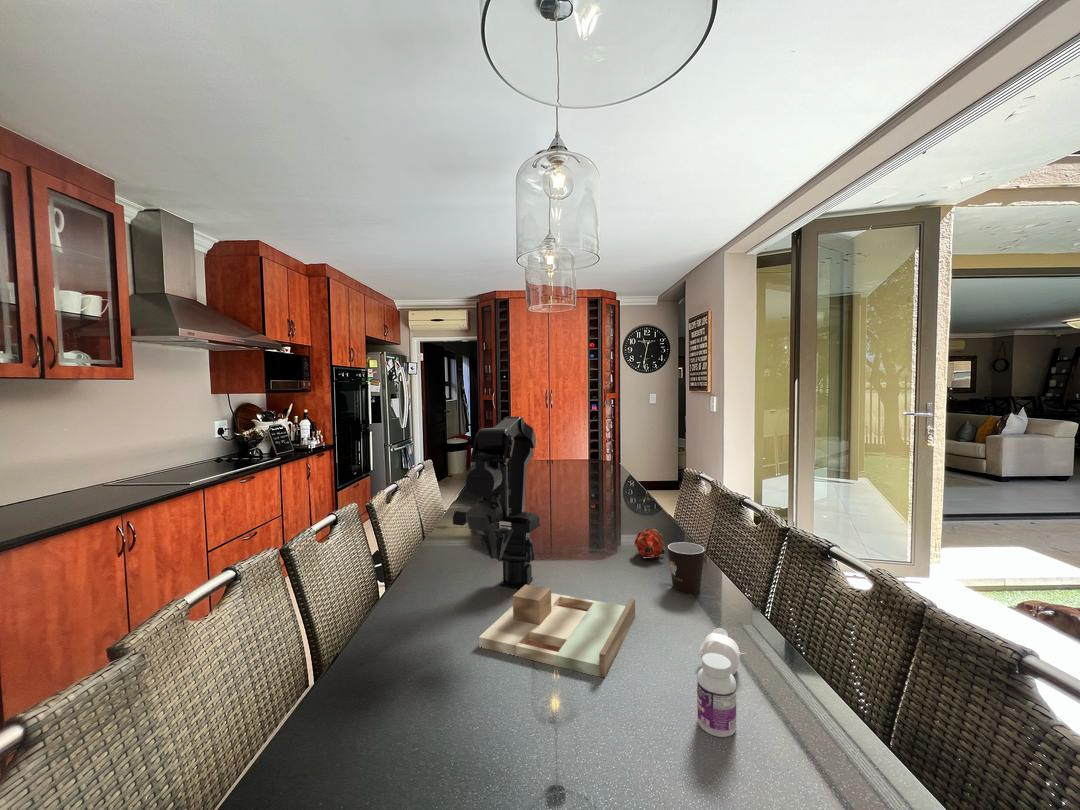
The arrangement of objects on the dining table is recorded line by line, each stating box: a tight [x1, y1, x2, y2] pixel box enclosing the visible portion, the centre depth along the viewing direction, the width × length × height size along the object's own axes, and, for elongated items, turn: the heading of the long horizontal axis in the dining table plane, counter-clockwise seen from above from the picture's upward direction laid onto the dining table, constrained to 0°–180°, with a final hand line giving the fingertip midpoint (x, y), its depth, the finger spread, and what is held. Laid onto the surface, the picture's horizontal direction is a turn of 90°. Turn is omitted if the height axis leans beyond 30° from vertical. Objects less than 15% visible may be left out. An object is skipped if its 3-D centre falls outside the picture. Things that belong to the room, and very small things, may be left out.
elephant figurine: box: [698, 627, 748, 676], centre depth 81 cm, size 7×8×6 cm
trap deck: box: [478, 592, 636, 679], centre depth 94 cm, size 25×23×4 cm
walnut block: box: [512, 584, 552, 625], centre depth 97 cm, size 6×6×5 cm
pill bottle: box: [696, 653, 737, 738], centre depth 67 cm, size 5×5×10 cm
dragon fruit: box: [634, 528, 666, 560], centre depth 136 cm, size 8×8×12 cm
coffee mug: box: [667, 541, 705, 595], centre depth 115 cm, size 12×9×10 cm
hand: (496, 558), depth 100 cm, fingers closed
